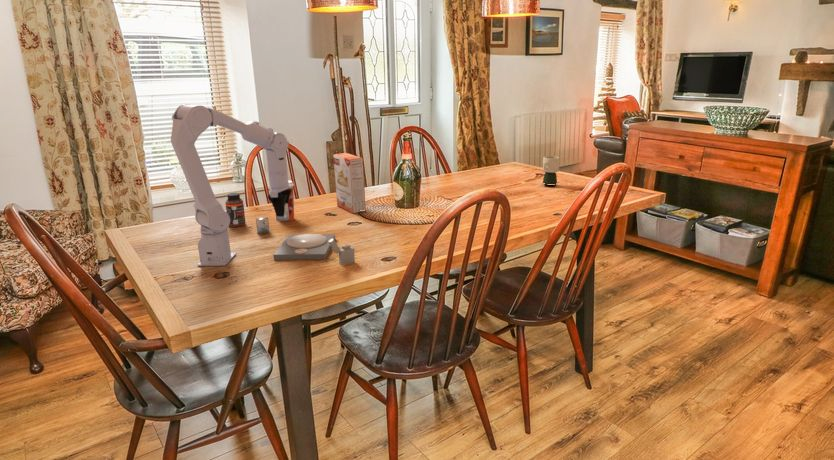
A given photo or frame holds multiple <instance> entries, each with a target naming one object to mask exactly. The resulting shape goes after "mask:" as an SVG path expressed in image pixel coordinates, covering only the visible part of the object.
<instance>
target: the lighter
mask: <svg viewBox="0 0 834 460" xmlns="http://www.w3.org/2000/svg"><path fill="white" fill-rule="evenodd" d="M328 242H329V244H330V245H331V249H332V250H333V253H335V254H336V255H337V254H338V260H339V265H340V266H346V265H349V263H350V264H353V262H354V263H356V261H355V260H356V258H355V256H356V255H355V248H354V246H351V245H350V244H344V245H342V248H340V247H339V245H338V244H337V242H336V239H335V240H334V239H330V240H329V241H328Z"/></svg>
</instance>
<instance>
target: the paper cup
mask: <svg viewBox="0 0 834 460" xmlns="http://www.w3.org/2000/svg"><path fill="white" fill-rule="evenodd" d="M288 182H289V185H293V187H292V188H288V189H292V192H291V194H290V198H289V204H288V211H289V220H287V221H280V222H283V223H284V222H285V223H286V222H292V221H294V220H295V204H294V203H295V202H294V201H295V199H294V185H295V184H294V182H293V181H292V180H289V179H288Z"/></svg>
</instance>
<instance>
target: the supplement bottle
mask: <svg viewBox="0 0 834 460" xmlns="http://www.w3.org/2000/svg"><path fill="white" fill-rule="evenodd" d="M240 196H241V195H240V192H230V193H227V199H226V200H225V210H226V211H225V212H227V213H228V215H229V217H230V224H229V226H228V227H232V228H238V227H243V226H244V225H246V213H245V207H244V205H245V204H244V201H243V199H242V198H241V197H240Z"/></svg>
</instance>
